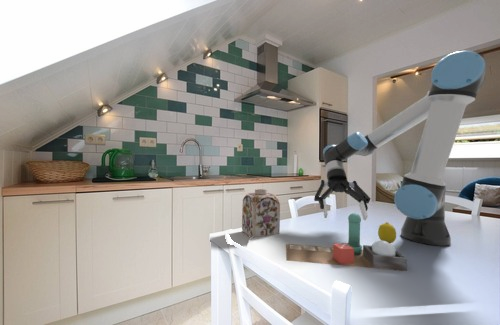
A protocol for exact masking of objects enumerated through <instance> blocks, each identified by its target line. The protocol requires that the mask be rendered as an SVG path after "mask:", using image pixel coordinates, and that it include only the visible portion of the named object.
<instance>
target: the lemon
mask: <svg viewBox="0 0 500 325" xmlns="http://www.w3.org/2000/svg"><path fill="white" fill-rule="evenodd" d="M377 234H378V239H379V241H381V240H383V241H386V242H388V243H390V244H393V243H394V242H395V241H396V239H397V232H396V228H395V227H394V226H393V225H392V224H390V223H389V222H386V221H385V223H381V224H380V225H379V226H378V231H377Z"/></svg>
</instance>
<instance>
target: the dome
mask: <svg viewBox="0 0 500 325" xmlns="http://www.w3.org/2000/svg"><path fill="white" fill-rule="evenodd" d="M371 244H372V245H371V246H372V252H373V253H374V254H375V255H380V256H393V257H395V250H396V247H394V246H393V245H392V243H388V242H386V241H383V240H378V241H376V242H373V243H371Z"/></svg>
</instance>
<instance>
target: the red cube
mask: <svg viewBox="0 0 500 325" xmlns="http://www.w3.org/2000/svg"><path fill="white" fill-rule="evenodd" d="M332 247H333V258H334V259H335V260H337V261H338V262H339V263H340V264H344V263H354V248H352V247H351V246H349V245H348V244H347V242H346V243H332Z"/></svg>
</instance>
